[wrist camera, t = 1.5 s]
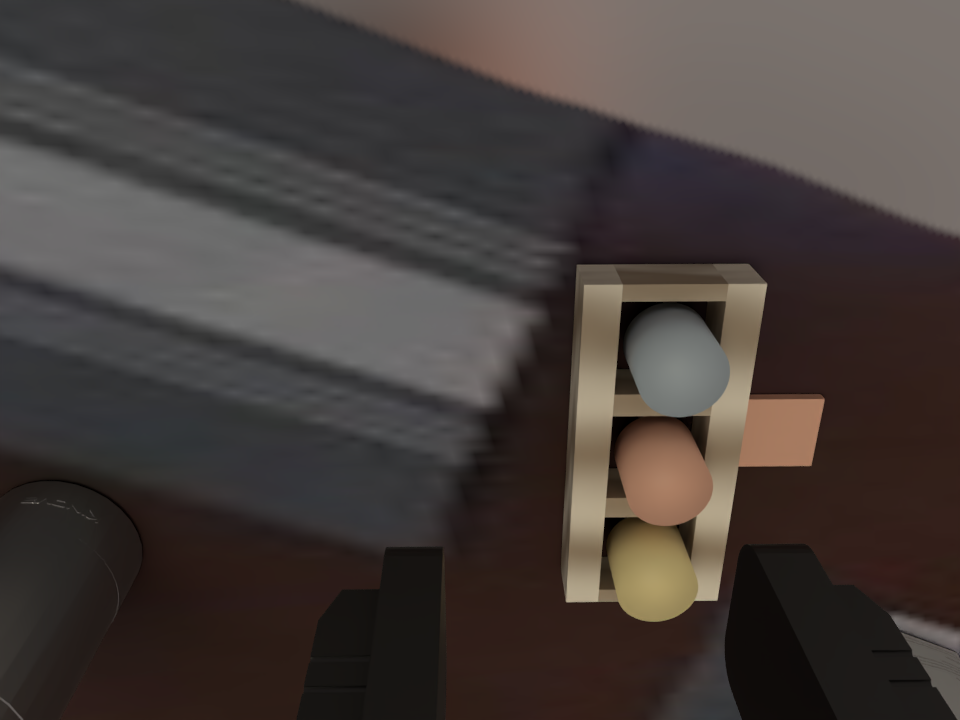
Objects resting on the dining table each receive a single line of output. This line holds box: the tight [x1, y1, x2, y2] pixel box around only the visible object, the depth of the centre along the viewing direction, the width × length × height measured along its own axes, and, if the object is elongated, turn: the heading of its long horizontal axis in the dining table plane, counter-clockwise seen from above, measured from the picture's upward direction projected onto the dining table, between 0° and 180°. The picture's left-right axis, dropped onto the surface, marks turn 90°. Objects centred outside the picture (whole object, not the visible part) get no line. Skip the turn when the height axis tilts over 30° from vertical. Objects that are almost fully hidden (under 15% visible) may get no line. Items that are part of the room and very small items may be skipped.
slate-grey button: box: [623, 303, 730, 417], centre depth 42 cm, size 4×4×4 cm
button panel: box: [561, 264, 767, 602], centre depth 47 cm, size 20×9×3 cm, turn 0°
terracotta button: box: [614, 416, 713, 526], centre depth 44 cm, size 4×4×4 cm
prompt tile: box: [739, 394, 825, 466], centre depth 48 cm, size 4×4×1 cm
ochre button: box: [606, 517, 698, 622], centre depth 47 cm, size 4×4×4 cm
